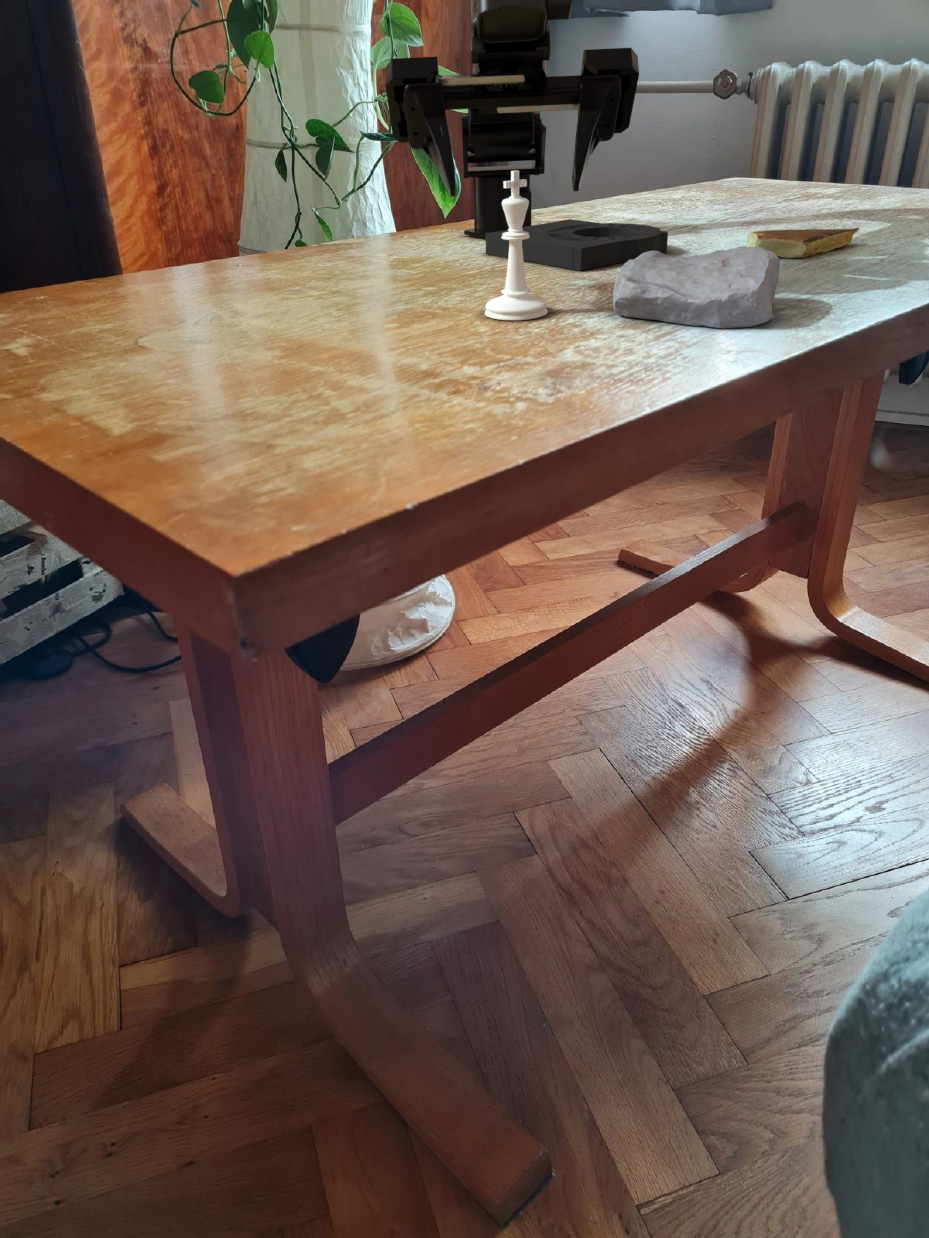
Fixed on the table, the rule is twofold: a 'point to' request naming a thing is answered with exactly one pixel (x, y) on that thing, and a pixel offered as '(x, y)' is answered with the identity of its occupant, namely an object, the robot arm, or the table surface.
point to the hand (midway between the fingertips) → (514, 190)
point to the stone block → (700, 287)
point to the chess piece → (515, 263)
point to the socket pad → (582, 243)
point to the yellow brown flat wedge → (800, 241)
